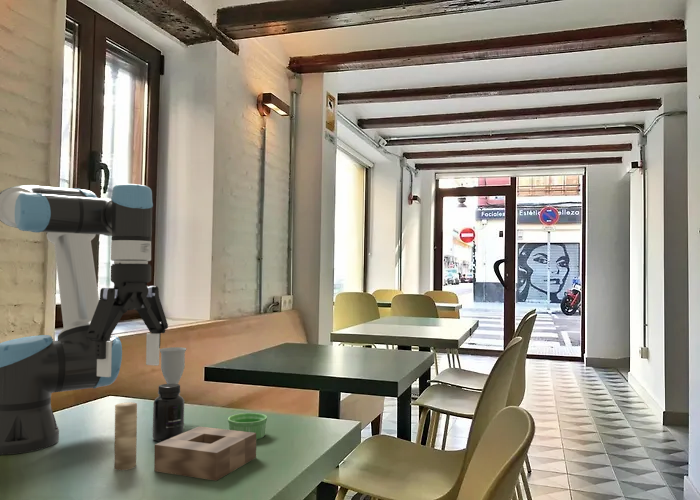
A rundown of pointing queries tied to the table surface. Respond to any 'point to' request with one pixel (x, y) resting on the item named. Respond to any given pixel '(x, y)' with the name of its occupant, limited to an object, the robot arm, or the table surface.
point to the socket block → (205, 452)
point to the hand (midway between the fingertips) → (129, 370)
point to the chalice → (172, 364)
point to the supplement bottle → (168, 412)
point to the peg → (125, 436)
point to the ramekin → (248, 423)
